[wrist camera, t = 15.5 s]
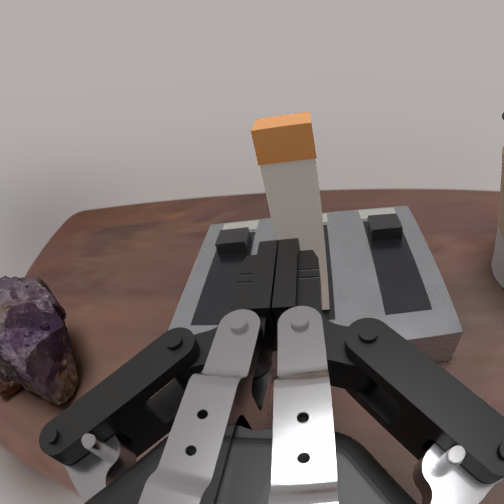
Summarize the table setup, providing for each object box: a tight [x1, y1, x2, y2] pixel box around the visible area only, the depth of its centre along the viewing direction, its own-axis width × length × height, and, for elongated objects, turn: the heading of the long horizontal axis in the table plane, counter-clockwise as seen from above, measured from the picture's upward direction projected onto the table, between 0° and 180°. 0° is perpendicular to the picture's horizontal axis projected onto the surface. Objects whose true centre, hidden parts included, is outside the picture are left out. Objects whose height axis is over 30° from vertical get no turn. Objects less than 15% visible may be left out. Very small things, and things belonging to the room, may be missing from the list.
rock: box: [0, 276, 79, 405], centre depth 20 cm, size 12×9×10 cm
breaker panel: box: [169, 206, 463, 377], centre depth 23 cm, size 18×14×4 cm
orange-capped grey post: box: [251, 112, 330, 310], centre depth 16 cm, size 2×2×11 cm
